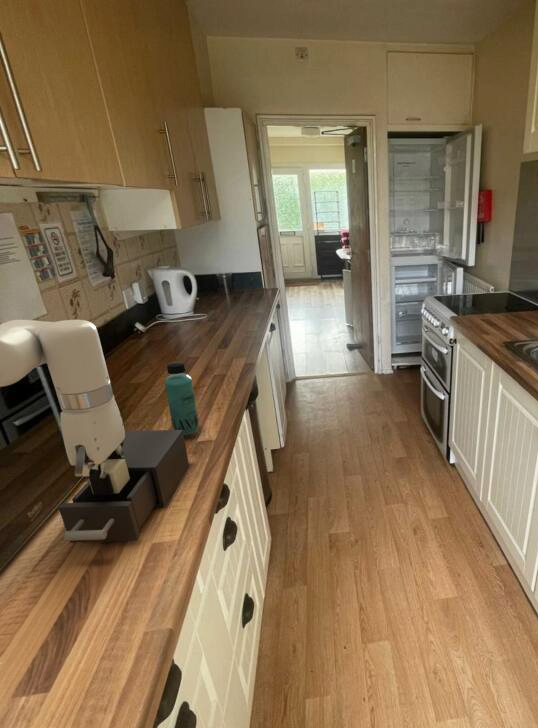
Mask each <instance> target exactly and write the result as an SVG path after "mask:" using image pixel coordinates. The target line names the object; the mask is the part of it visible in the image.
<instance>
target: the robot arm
mask: <svg viewBox="0 0 538 728" xmlns="http://www.w3.org/2000/svg"><path fill="white" fill-rule="evenodd" d="M44 364H47V367H48V371H49V374H50V377H51V380H52V384H53V386H54V390H55V393H56V397H57V399H58V403H59V406H60V410H62V411H61V412H60V427H61V434H62V439H63V444H64V448H65V452H66V455H67V459H68V462H69V464H70V466H72V467H73V466H74V468H75V469H74V476H75V477H77V478H78V477H80V478H82V477H83V478H85V479H87V480H88V481H90V484H91V487H92V490H93V494H94V495H112V494H113V493H114V490H113V487H112V483H111V480H110V476H109V475H106V469H105V460H106V459H124V458H121V457H124V451H123V449H122V448H123V444H124V443H123V440H124V438H125V431H126V430H125V427H124V422H123V418H122V415H121V412H120V410H119V407H118V404H117V402H116V399H115V394H114V391H113V387H112V383H111V380H110V376H109V372H108V368H107V367H108V366H107V364H106V360H105V356H104V352H103V347H102V344H101V339H100V336H99V332H98V328H97V326H96V325H95V324H94V323H93V322H91V321H89V320H85V319H66V320H65V319H64V320H59V321H44V320H34V319H33V320H32V319H11V320H7V321H5V322H3V323H0V388H1V387H8V386H11V385H13V384H16V383H18V382H19V381H21V380H22V379H23V378H25V377H26V376H27V375H28V374H29V373H30V372H32V371H33V370H34V369H36V368H38V367H40V366H42V365H44ZM92 465H98V470H96V469H92Z"/></svg>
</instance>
